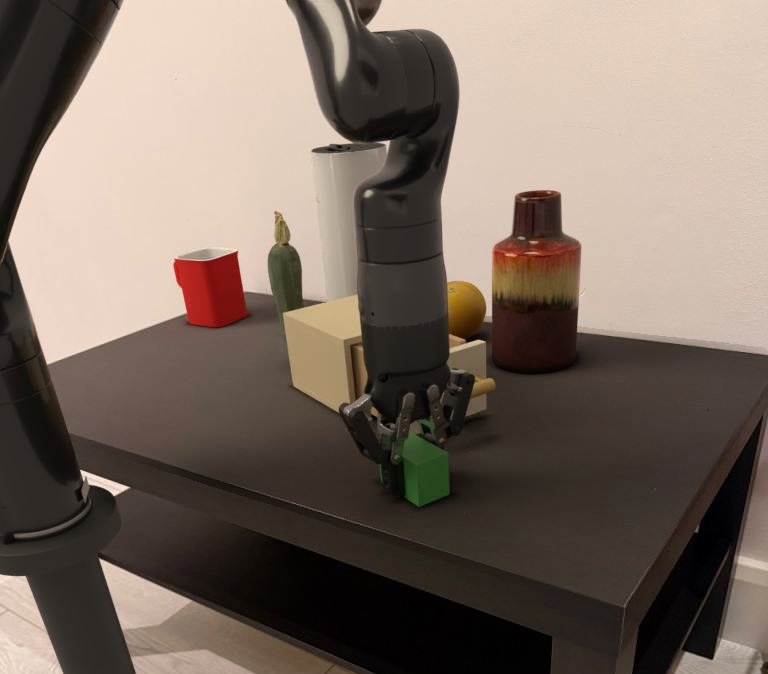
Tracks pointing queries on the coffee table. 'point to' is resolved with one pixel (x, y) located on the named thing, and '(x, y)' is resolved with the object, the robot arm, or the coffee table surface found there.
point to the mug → (211, 286)
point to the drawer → (460, 357)
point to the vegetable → (284, 272)
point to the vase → (535, 288)
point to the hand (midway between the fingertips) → (414, 486)
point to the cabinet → (324, 349)
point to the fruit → (465, 309)
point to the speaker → (341, 208)
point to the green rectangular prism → (424, 471)
